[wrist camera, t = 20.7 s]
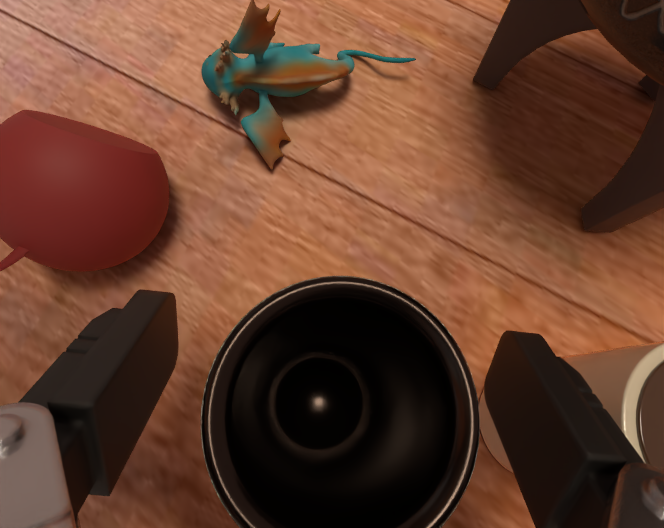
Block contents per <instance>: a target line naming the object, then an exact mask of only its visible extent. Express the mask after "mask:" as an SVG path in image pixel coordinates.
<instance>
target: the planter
mask: <svg viewBox="0 0 664 528" xmlns="http://www.w3.org/2000/svg"><path fill="white" fill-rule="evenodd" d="M593 29H598V30H599V31H600V33H601V34H602V35H603V36H604V38H605V39H606V40H607V41H608V42H609V43H610V44H611V45H612V46H613V47H614V48H615V49H616V50H617V51H618V52H619V53H620V54H621V55H622V56H624V57H625V58H626V59H627V60H628V61H629V62H630V63H631V64H633V65H634V66H635V67H637V68H638V69H639V70H641V71H642V72H643V73H645V74H646V76H645V77H644V78H643V79H642V80H641V81H640V82H639V84H640V85H641V87H642V88H643V89H644V90H645V91H646V92H647V94H648V95H649V96H650V97H651V98H652V99H653V101H655V104H654V107H653V110H652V113H651V116H650V118H649V121H648V123H647V125H646V128H645V130H644V132H643V134H642V136H641V138H640V140H639V141H638V143H637V145H636V147H635V149H634V150H633V152H632V153H631V155H630V157H629V158H628V160H627V161H626V162H625V164H624V165H623V166H622V168H621V169H620V170H619V171H618V173H617V174H616V175H615V177H614V178H613V179H612V180H611V181H610V182H609V183H608V184H607V186H606V187H605V188H604V189H602V190H601V191H600V192H599V193H598V194H597V195H596V196H594V197H593V198H592V199H591V200H590V201H589V202H588V203H587V204H585V205H584V206H583V207H582V208H581V213H582V219H583V225H584V230H585V231H598V232H613V231H615V230H617V229H619V228H621V227H623V226H626V225H628V224H630V223H632V222H634V221H636V220H638V219H641V218H643V217H645V216H647V215H649V214H651V213H654V212H656V211H658V210H660V209H662V208H664V0H510V2H509V4H508V6H507V8H506V11H505V13H504V15H503V17H502V19H501V21H500V23H499V25H498V27H497V30H496V32H495V34H494V36H493V38H492V40H491V42H490V44H489V47H488V49H487V51H486V53H485V55H484V57H483V59H482V61H481V63H480V66H479V68H478V70H477V72H476V74H475V76H474V78H473V80H474V81H476V82H478V83H480V84H482V85H483V86H485V87H487V88H489V89H491V90H493V89H494V88H495V87H496V86H497V85H498V84H499V83H500V81H501V80H502V79H503V78H504V77H505V76H506V75H507V73H508V72H509V71H510V70H511V69H512V68H513V67H514V66H515V65H516V64H517V63H518V62H519V61H520V60H522V59H523V58H524V57H526V56H527V55H529V54H530V53H532V52H533V51H534V50H536V49H537V48H539V47H541V46H543V45H545V44H547V43H548V42H550V41H553V40H556V39H558V38H561V37H563V36H566V35H569V34H573V33H577V32H581V31H586V30H593Z"/></svg>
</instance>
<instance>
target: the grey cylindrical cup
mask: <svg viewBox="0 0 664 528" xmlns="http://www.w3.org/2000/svg"><path fill="white" fill-rule="evenodd" d="M479 435H480V416H479V405H478V398H477V393H476V388H475V385H474V381H473V378H472V375H471V372H470V369H469V367H468V364H467V362H466V360H465V357H464V355H463V354H462V352H461V350H460V348H459V346H458V345H457V343H456V341H455V340H454V338H453V337H452V335H451V334H450V333H449V331H448V330H447V329H446V327H445V326H444V325H443V324H442V323H441V322H440V321H439V319H438V318H437V317H436V316H435V315H434V314H433V313H431V312H430V311H429V310H428V309H427V308H426V307H425V306H423V305H422V304H421V303H419V302H418V301H417V300H415V299H414V298H412V297H411V296H409V295H407V294H406V293H404V292H402V291H400V290H398V289H396V288H394V287H392V286H389V285H386V284H384V283H381V282H378V281H374V280H370V279H366V278H360V277H353V276H327V277H319V278H313V279H309V280H305V281H302V282H299V283H296V284H293V285H290V286H288V287H286V288H283V289H281V290H279V291H277V292H275V293H274V294H272V295H271V296H269V297H267V298H266V299H264V300H263V301H262V302H260V303H259V304H257V305H256V306H255V307H254V308H253V309H251V310H250V311H249V312H248V313H247V314H246V315H245V316H244V317H243V318H242V319H241V320H240V321H239V322H238V324H237V325H236V326H235V327H234V328H233V330H232V331H231V332H230V334H229V335H228V336H227V338H226V339H225V341H224V343H223V344H222V346H221V348H220V350H219V351H218V353H217V355H216V357H215V360H214V362H213V364H212V367H211V369H210V372H209V375H208V378H207V382H206V385H205V389H204V394H203V400H202V407H201V440H202V448H203V454H204V459H205V463H206V467H207V470H208V473H209V476H210V479H211V482H212V484H213V486H214V489H215V491H216V493H217V495H218V497H219V499H220V501H221V502H222V504H223V506H224V507H225V509H226V510H227V512H228V513H229V515H230V516H231V517H232V519H233V520H234V521H235V523H236V524H237V525H238V526H239V527H240V528H441V527H442V526H443V525H444V524H445V523H446V521H447V520H448V519H449V517H450V516H451V515H452V513H453V512H454V510H455V509H456V507H457V506H458V504H459V502H460V501H461V499H462V497H463V495H464V493H465V491H466V488H467V486H468V484H469V481H470V479H471V475H472V472H473V469H474V466H475V462H476V457H477V452H478V446H479Z"/></svg>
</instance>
